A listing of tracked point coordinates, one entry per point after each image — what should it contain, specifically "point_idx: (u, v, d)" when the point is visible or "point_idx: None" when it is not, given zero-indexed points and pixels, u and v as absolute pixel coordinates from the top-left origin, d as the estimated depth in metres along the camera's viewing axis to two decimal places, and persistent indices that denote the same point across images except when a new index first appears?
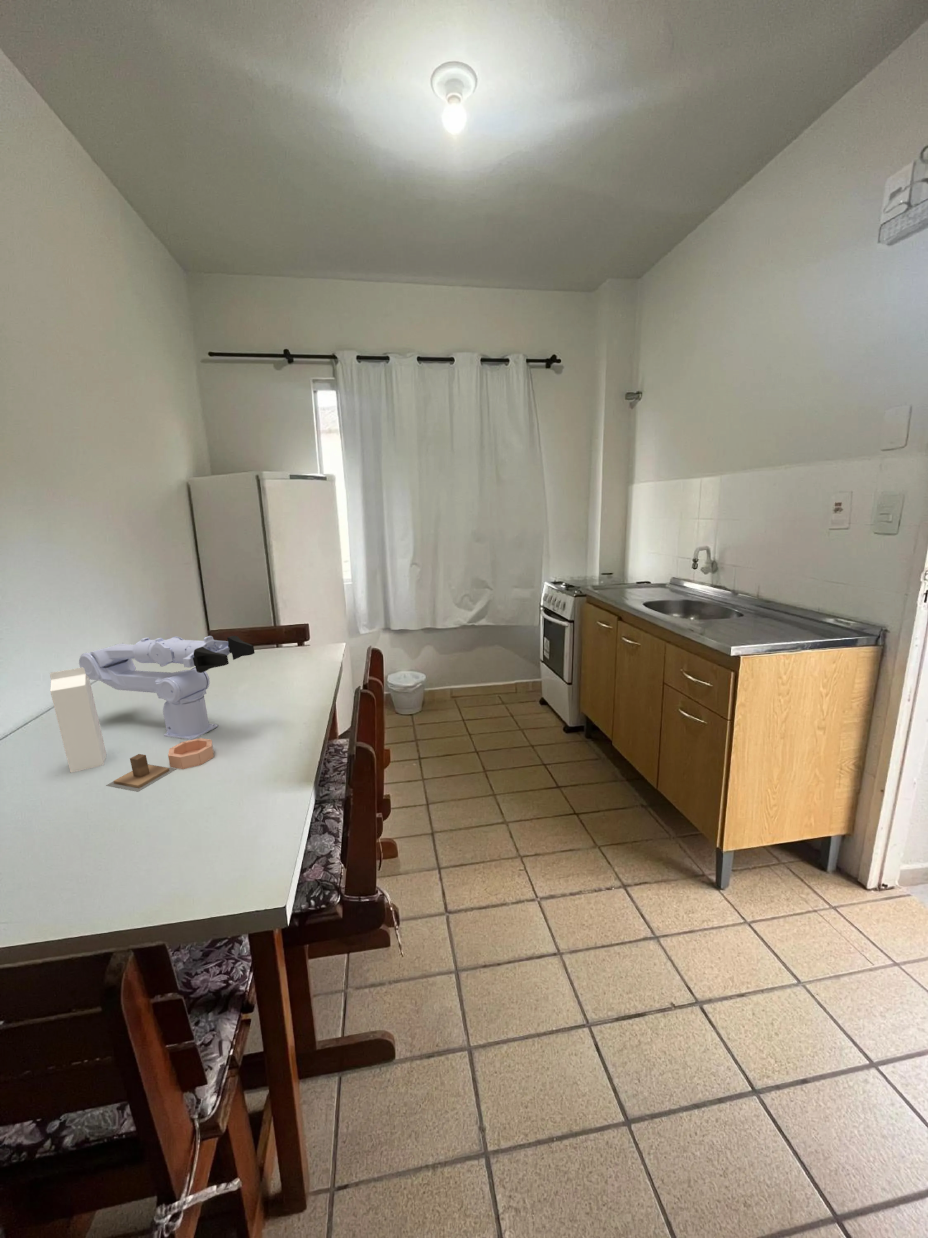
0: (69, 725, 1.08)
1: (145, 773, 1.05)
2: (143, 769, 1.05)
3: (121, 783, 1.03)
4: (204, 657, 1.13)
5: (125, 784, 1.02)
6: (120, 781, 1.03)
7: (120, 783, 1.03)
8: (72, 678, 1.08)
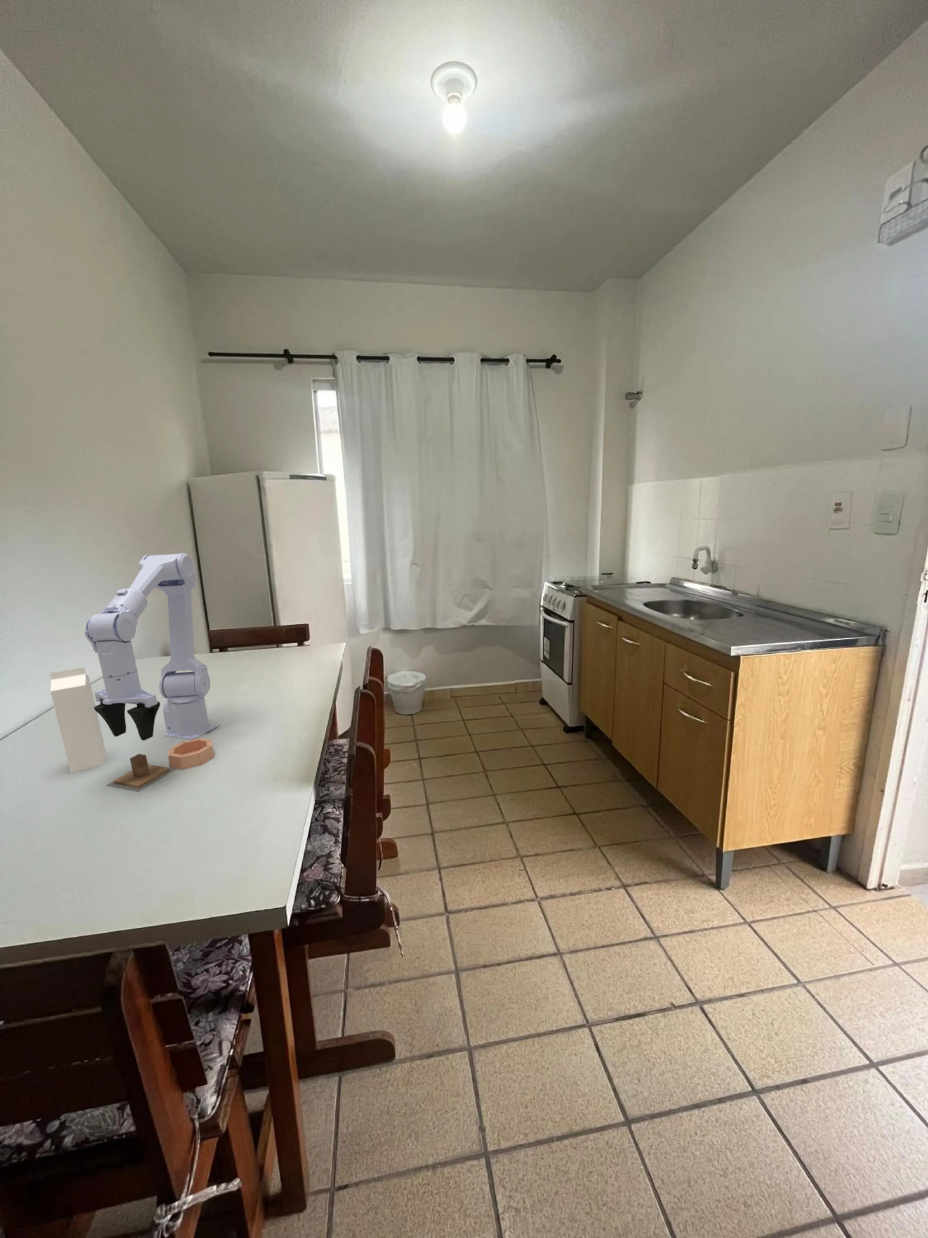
0: (69, 725, 1.08)
1: (145, 773, 1.05)
2: (143, 769, 1.05)
3: (121, 783, 1.03)
4: None
5: (125, 784, 1.02)
6: (120, 781, 1.03)
7: (120, 783, 1.03)
8: (72, 678, 1.08)
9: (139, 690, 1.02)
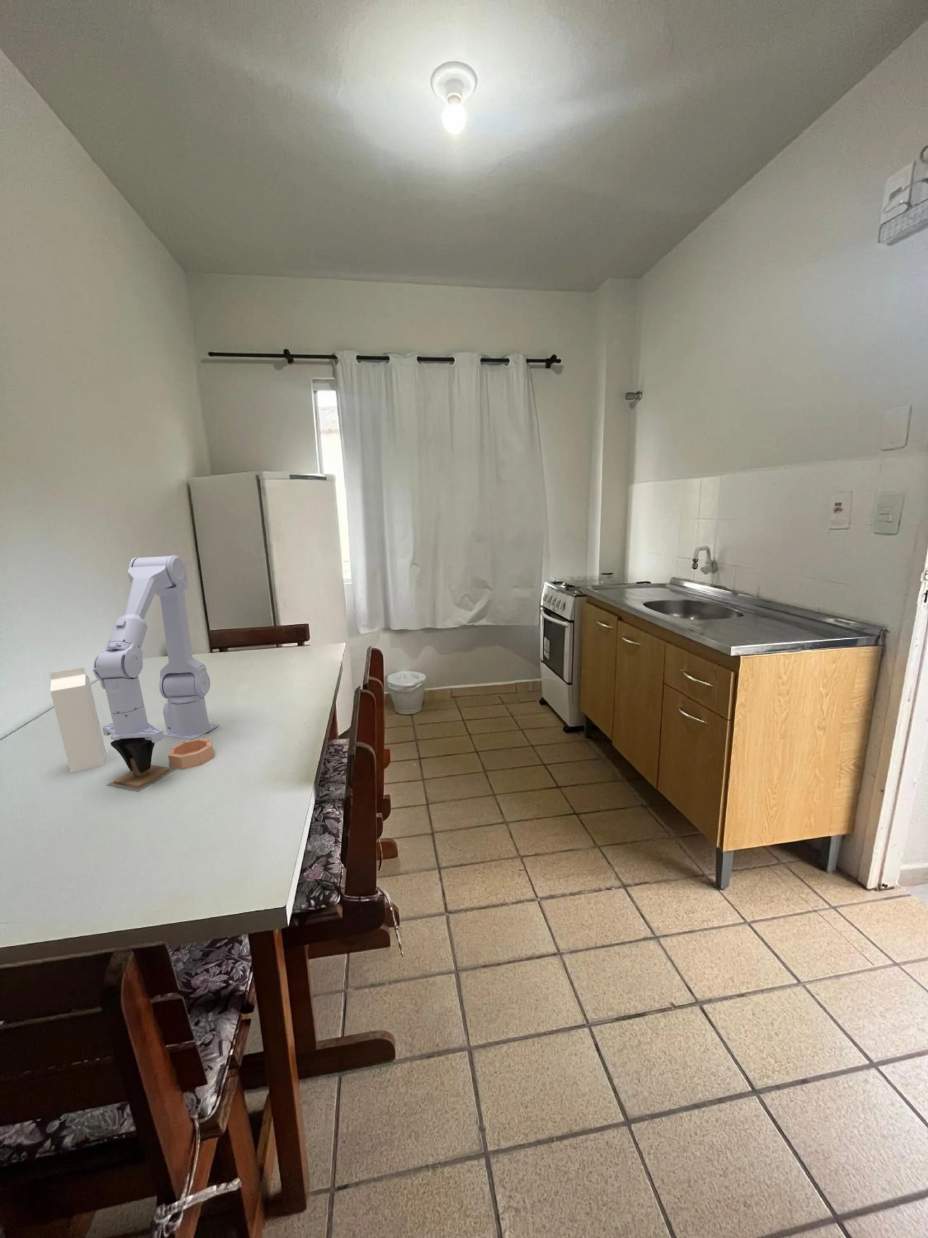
0: (69, 725, 1.08)
1: (145, 773, 1.05)
2: None
3: (121, 783, 1.03)
4: None
5: (125, 784, 1.02)
6: (120, 781, 1.03)
7: (120, 783, 1.03)
8: (72, 678, 1.08)
9: (146, 725, 1.03)
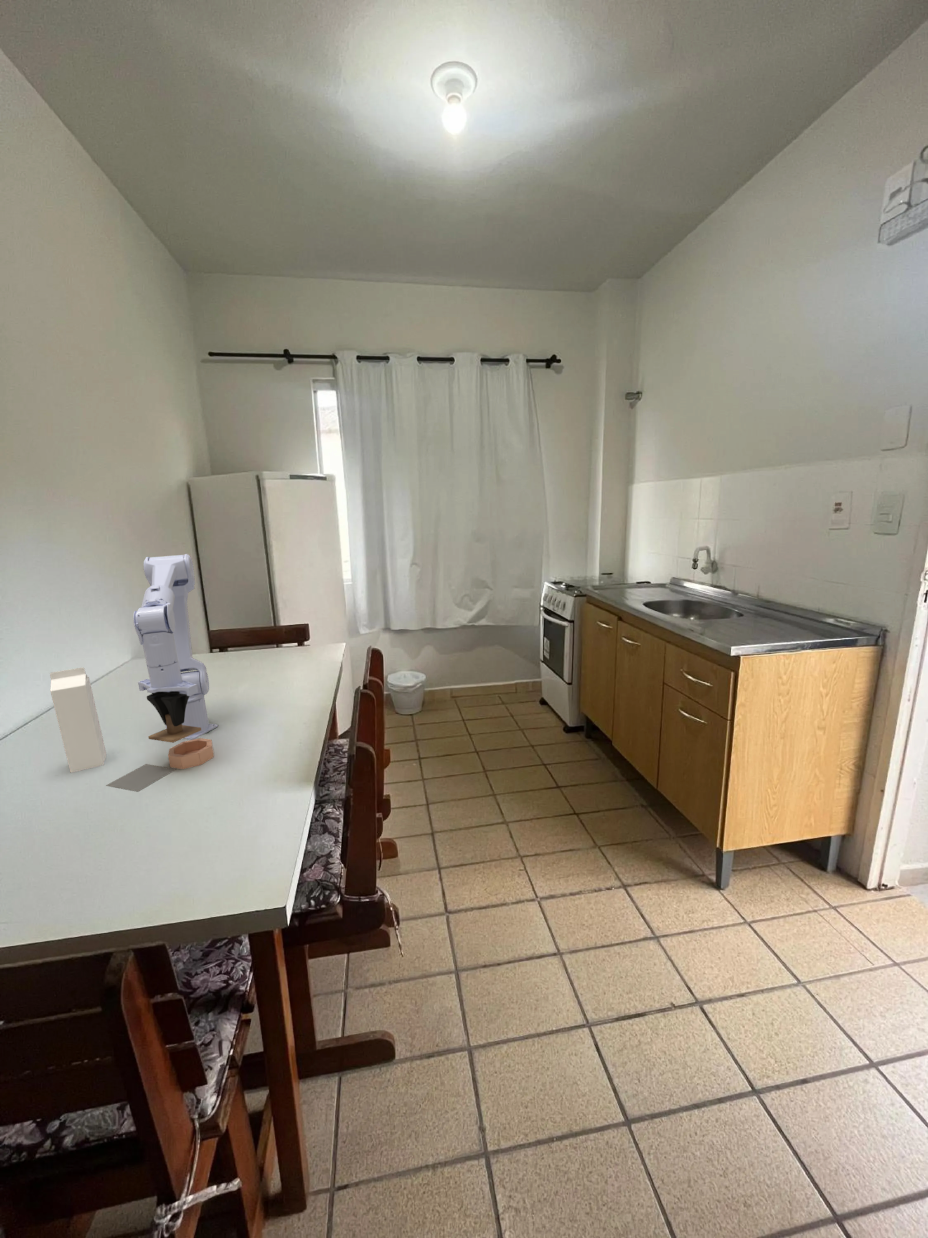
0: (69, 725, 1.08)
1: (178, 730, 1.09)
2: (177, 726, 1.09)
3: (156, 738, 1.07)
4: None
5: (160, 739, 1.06)
6: (155, 737, 1.07)
7: (155, 738, 1.07)
8: (72, 678, 1.08)
9: (180, 680, 1.07)
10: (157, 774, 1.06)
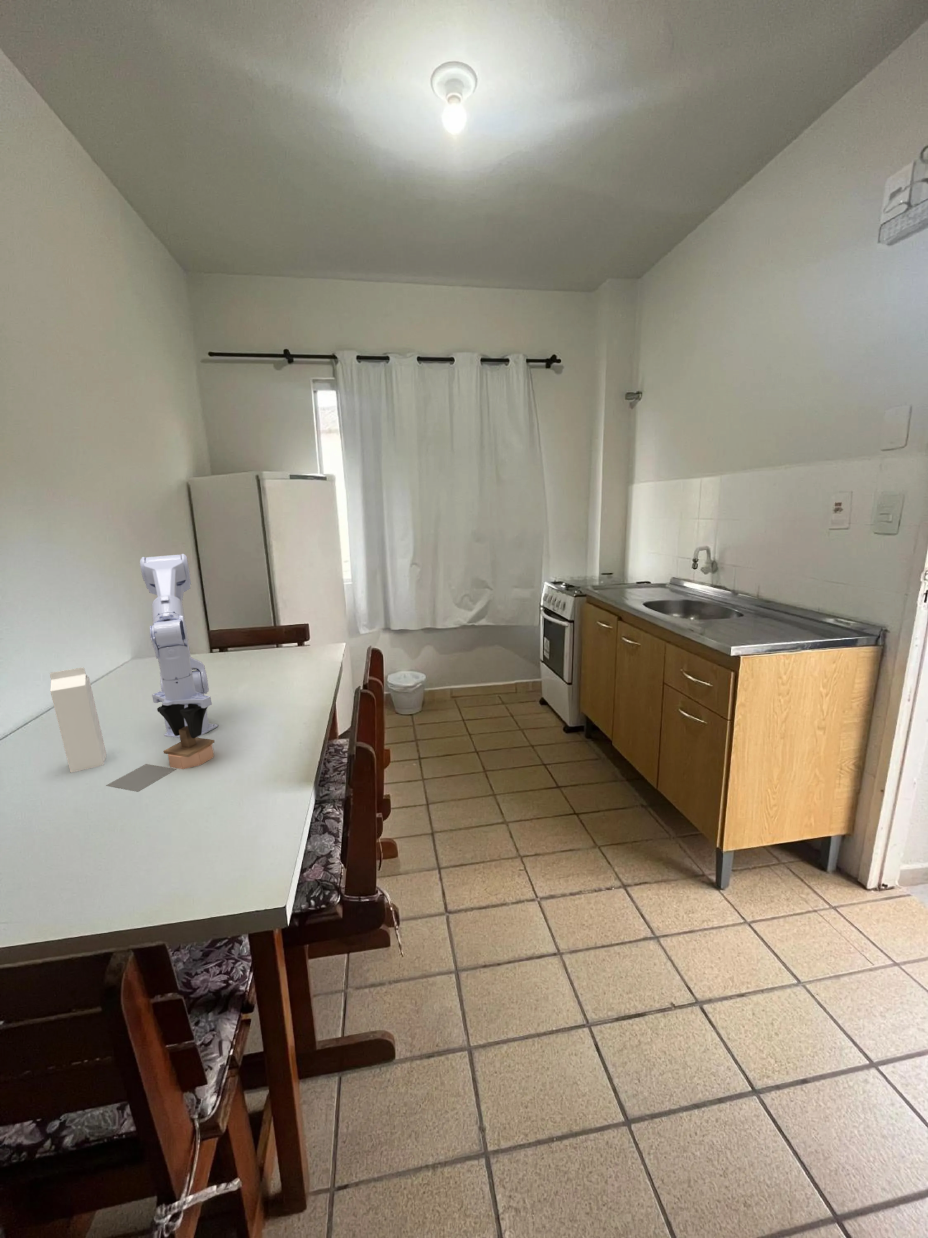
0: (69, 725, 1.08)
1: (192, 744, 1.11)
2: (191, 740, 1.11)
3: (171, 753, 1.09)
4: None
5: (175, 753, 1.08)
6: (170, 751, 1.09)
7: (170, 753, 1.09)
8: (72, 678, 1.08)
9: (194, 692, 1.09)
10: (157, 774, 1.06)
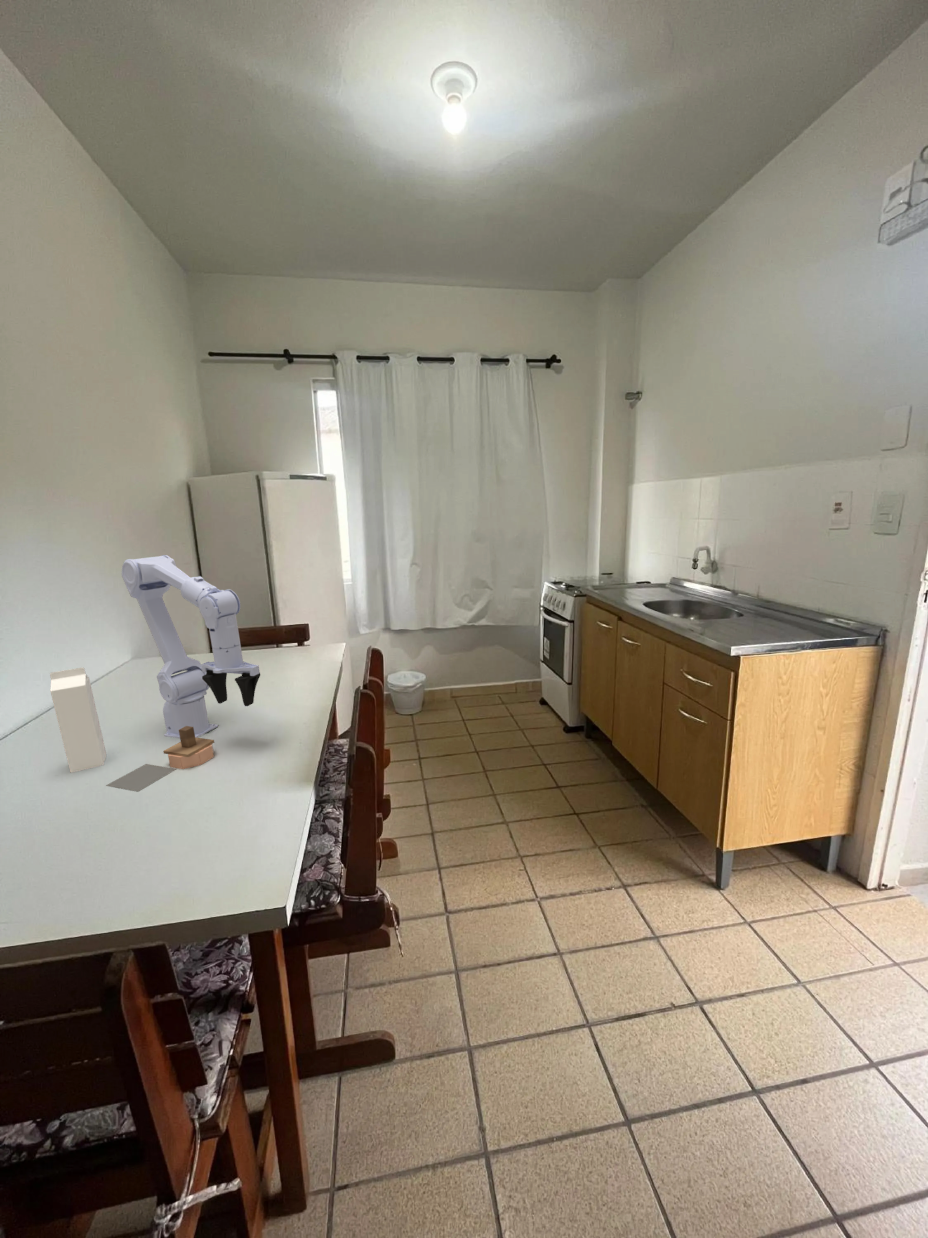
0: (69, 725, 1.08)
1: (192, 744, 1.11)
2: (191, 740, 1.11)
3: (171, 753, 1.09)
4: None
5: (175, 753, 1.08)
6: (170, 751, 1.09)
7: (170, 753, 1.09)
8: (72, 678, 1.08)
9: (242, 662, 1.14)
10: (157, 774, 1.06)
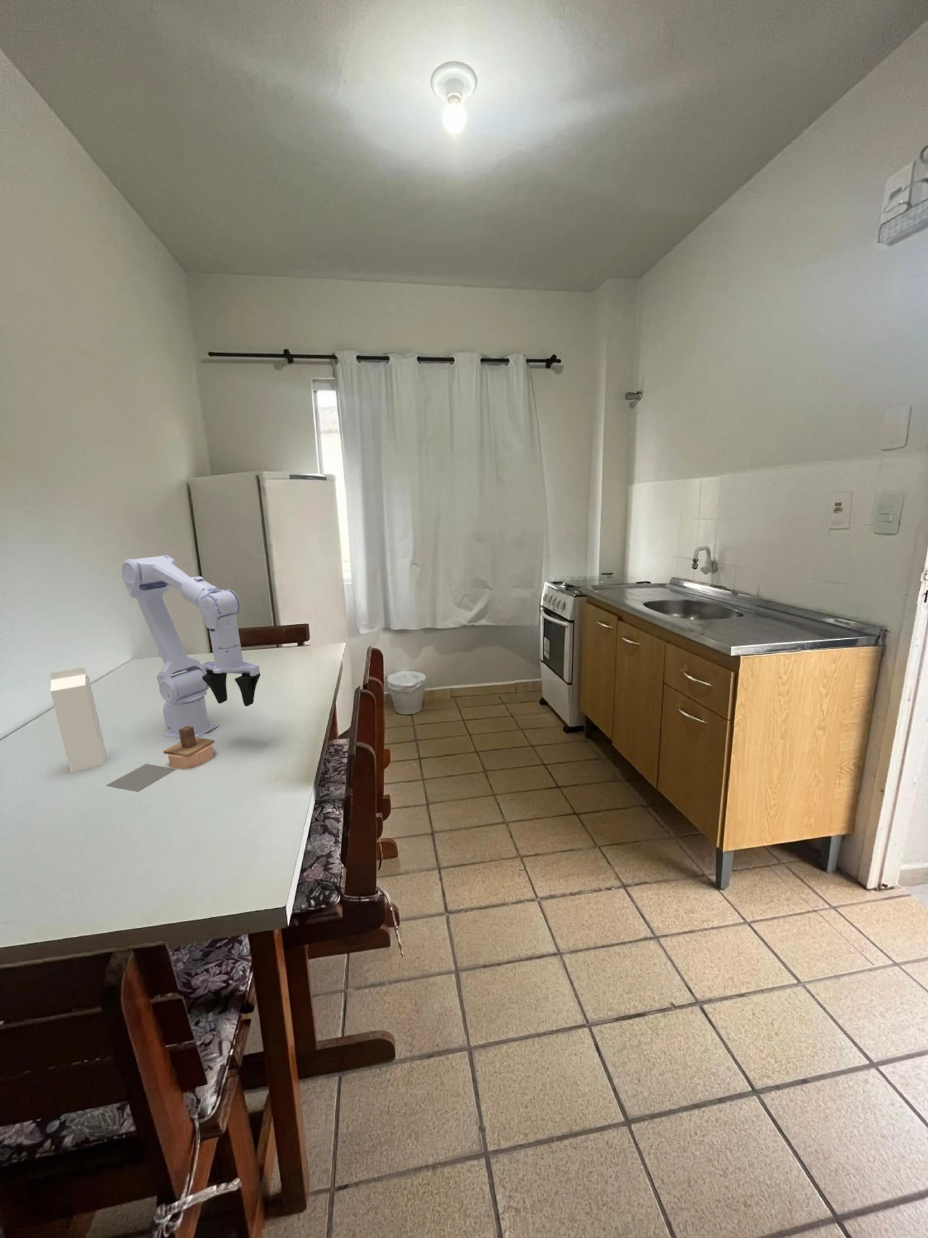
0: (69, 725, 1.08)
1: (192, 744, 1.11)
2: (191, 740, 1.11)
3: (171, 753, 1.09)
4: None
5: (175, 753, 1.08)
6: (170, 751, 1.09)
7: (170, 753, 1.09)
8: (72, 678, 1.08)
9: (242, 662, 1.14)
10: (157, 774, 1.06)
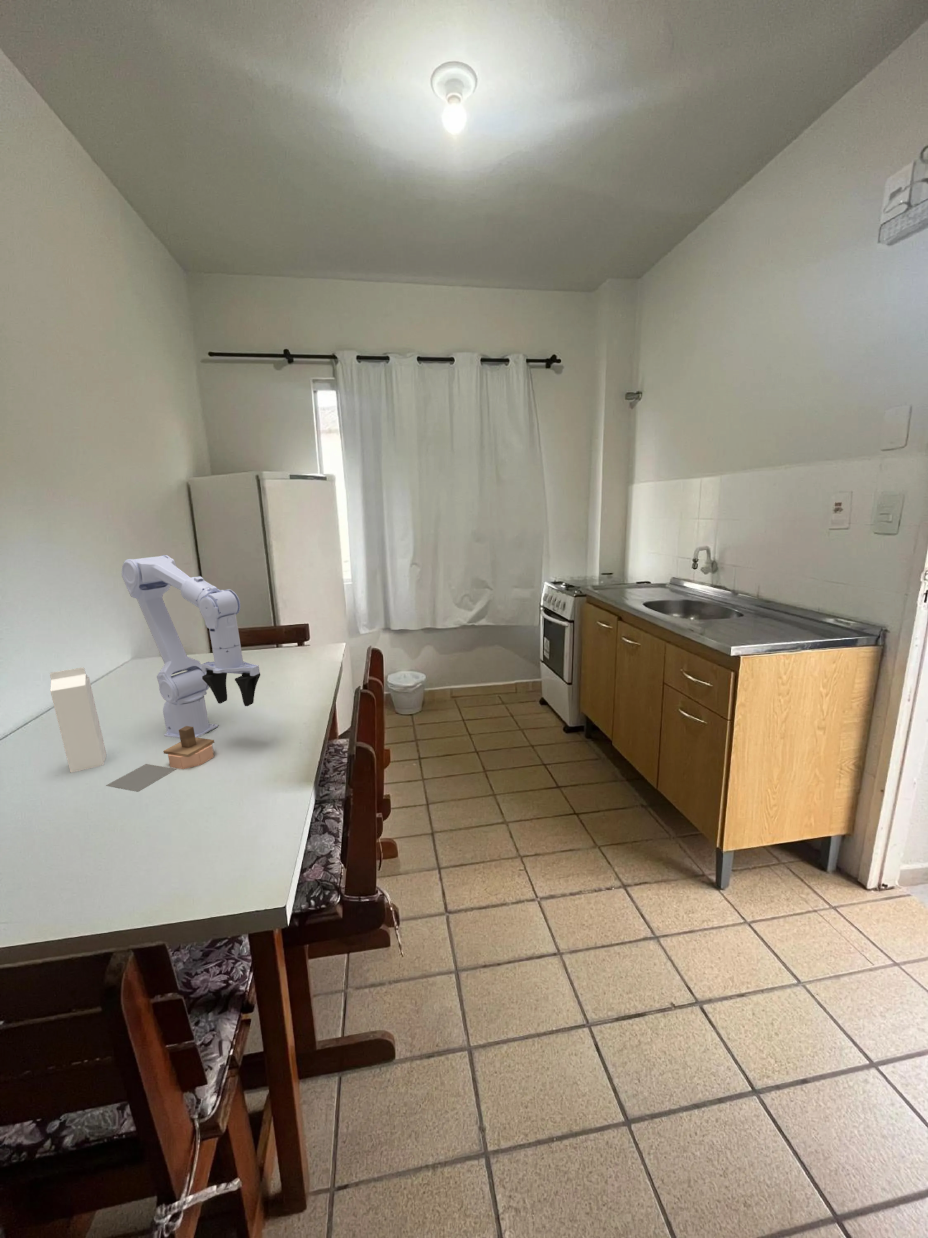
0: (69, 725, 1.08)
1: (192, 744, 1.11)
2: (191, 740, 1.11)
3: (171, 753, 1.09)
4: None
5: (175, 753, 1.08)
6: (170, 751, 1.09)
7: (170, 753, 1.09)
8: (72, 678, 1.08)
9: (242, 662, 1.14)
10: (157, 774, 1.06)
